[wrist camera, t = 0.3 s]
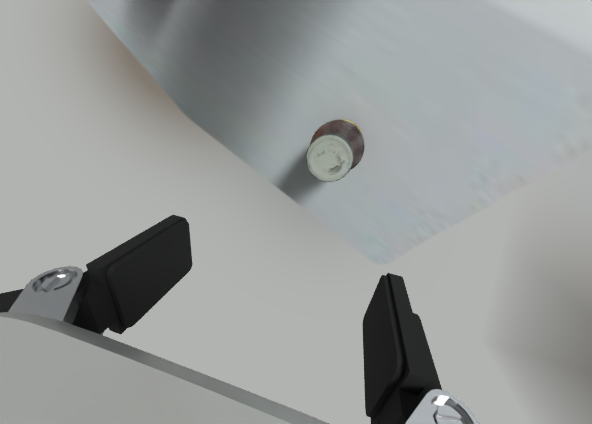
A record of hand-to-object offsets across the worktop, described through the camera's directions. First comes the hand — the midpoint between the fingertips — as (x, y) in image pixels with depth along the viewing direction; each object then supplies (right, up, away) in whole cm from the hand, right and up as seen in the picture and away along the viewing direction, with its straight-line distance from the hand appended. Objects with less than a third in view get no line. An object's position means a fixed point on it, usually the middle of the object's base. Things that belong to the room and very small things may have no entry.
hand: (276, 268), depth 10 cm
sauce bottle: (+9, +15, +26) cm, 31 cm away
